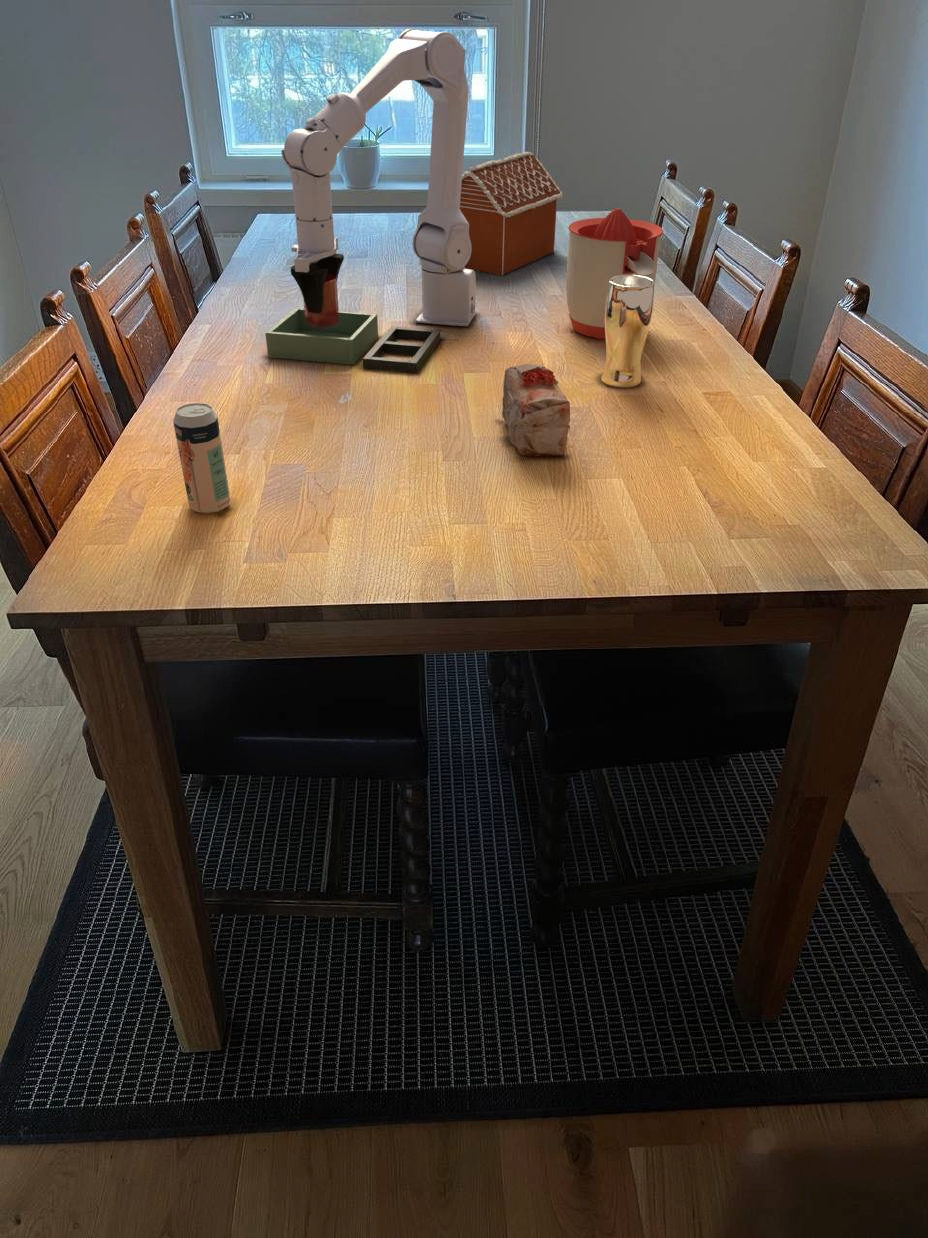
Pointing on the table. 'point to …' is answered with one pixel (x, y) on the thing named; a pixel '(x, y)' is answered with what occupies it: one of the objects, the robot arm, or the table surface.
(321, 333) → the basin
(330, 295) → the cup
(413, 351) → the frame
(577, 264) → the citrus juicer
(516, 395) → the food item
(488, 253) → the gingerbread house
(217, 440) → the beer can
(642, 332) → the beer glass
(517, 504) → the table surface
